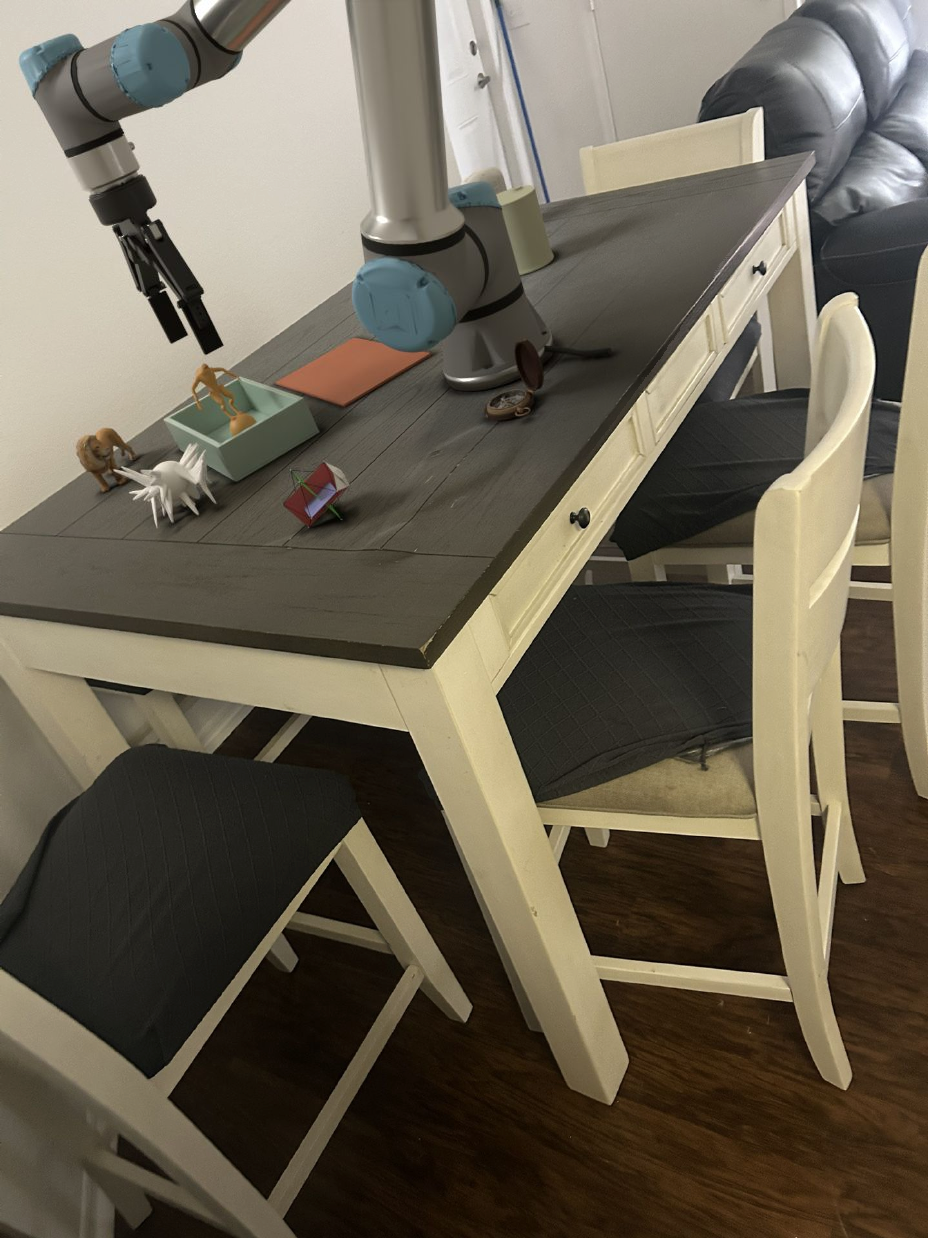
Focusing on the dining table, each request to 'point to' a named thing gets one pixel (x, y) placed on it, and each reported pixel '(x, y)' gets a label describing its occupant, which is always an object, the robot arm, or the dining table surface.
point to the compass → (517, 399)
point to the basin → (249, 450)
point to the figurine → (209, 380)
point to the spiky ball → (173, 482)
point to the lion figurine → (102, 454)
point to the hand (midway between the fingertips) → (196, 344)
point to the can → (525, 228)
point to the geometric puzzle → (317, 493)
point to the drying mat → (351, 371)
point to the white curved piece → (488, 178)
